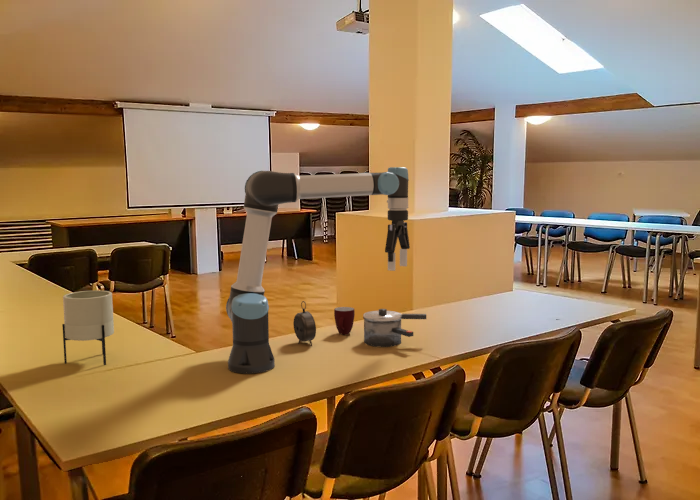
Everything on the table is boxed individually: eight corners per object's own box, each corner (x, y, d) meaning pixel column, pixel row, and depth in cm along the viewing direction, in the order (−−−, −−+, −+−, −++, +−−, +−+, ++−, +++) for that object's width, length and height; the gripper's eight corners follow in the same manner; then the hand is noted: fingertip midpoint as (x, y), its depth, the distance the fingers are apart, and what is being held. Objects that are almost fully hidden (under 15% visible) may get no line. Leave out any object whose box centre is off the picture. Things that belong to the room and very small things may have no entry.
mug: (352, 338, 237) (352, 312, 236) (332, 337, 238) (332, 312, 237) (355, 331, 247) (355, 307, 246) (335, 330, 248) (335, 306, 247)
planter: (65, 357, 212) (61, 292, 209) (114, 352, 218) (111, 289, 216) (63, 370, 198) (59, 300, 196) (116, 364, 204) (112, 296, 202)
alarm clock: (317, 346, 226) (316, 302, 224) (304, 348, 223) (303, 304, 221) (303, 339, 235) (303, 297, 233) (291, 341, 233) (290, 299, 231)
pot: (396, 354, 214) (396, 329, 213) (356, 340, 233) (356, 317, 232) (425, 348, 222) (425, 324, 221) (385, 335, 241) (385, 312, 240)
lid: (427, 323, 222) (427, 314, 221) (362, 322, 223) (362, 313, 223) (425, 314, 236) (425, 305, 236) (364, 313, 238) (364, 305, 237)
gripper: (399, 207, 237) (399, 263, 239) (375, 210, 215) (375, 272, 218) (418, 208, 234) (417, 264, 236) (395, 211, 212) (395, 273, 215)
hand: (397, 268), depth 227 cm, fingers open, 11 cm apart
